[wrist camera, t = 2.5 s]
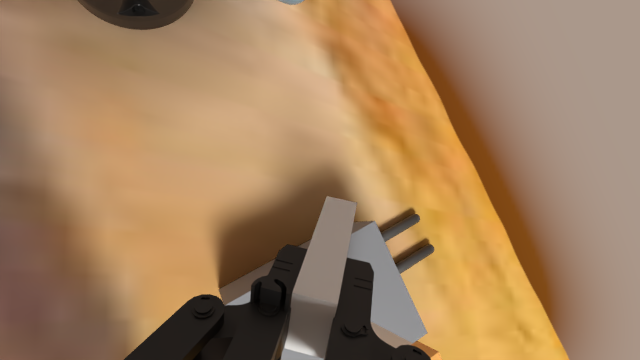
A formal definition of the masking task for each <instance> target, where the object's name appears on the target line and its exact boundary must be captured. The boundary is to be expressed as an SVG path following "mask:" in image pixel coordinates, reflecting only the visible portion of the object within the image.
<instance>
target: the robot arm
mask: <svg viewBox="0 0 640 360" xmlns="http://www.w3.org/2000/svg"><path fill="white" fill-rule="evenodd" d="M78 1H79V2H80V3H81V4H82V5H83V6H84V7H85V8H86V9H87V10H89V11H90V12H91V13H93V14H94V15H95V16H97V17H99V18H100V19H102V20H104V21H106V22H109V23H111V24H114V25H117V26H120V27H124V28H129V29H140V30H141V29H154V28H159V27H163V26H166V25H168V24H170V23H172V22H174V21H176V20H177V19H179V18H180V17H181V16H183V15H184V14H185V13H186V11H187V10H188V9H189V8H190V6H191V4H192V3H193V0H78ZM278 1H280V2H283V3H285V4H289V5H296V4H299V3H301V2H303V1H304V0H278ZM356 206H357V203H356V202H352V201H347V200H343V199H338V198H333V197H329V196H327V197H326V200H325V202H324V205H323V208H322V211H321V214H320V216H319V219H318V222H317V225H316V228H315V231H314V233H313V236H312V239H311V242H310V245H309V247H308V249H305V248H301V247H297V246H293V245H288V244H287V245H286V246H285V247H283V248H282V249H281V250H279V252H278V254H277V257H276V259H275V261H274V263H273V265H272V268H271V269H270V271H269V274H268V275H267V276H262V277H260V278H258V279H256V280H255V281H254V282H253V283H252V284H251V295H250V302H248V303H245V304H241V305H224V304H223V302H222V300H221V299H219V298H218V297H217V296H213V295H210V294H209V295H199V296H196V297H193V298H192V299H190V300H189V301H187V302H186V303H185V304H184V305H183V306H182V307H181V308H180V309H179V310H178V311H176V312H175V313H174V314H173V315H172V316H171V317H170V318H169V319H168V320H167V321H166V322H164V323H163V324H162V325H161V326H160V327H159V328H158V329H157V330H156V331H155V332H153V333H152V334H151V335H150V336H149V337H148V338H147V339H146V340H145V341H144V342H143V343H141V344H140V345H139V346H138V347H137V348H136V349H135V350H134V351H133V352H132V353H131V354H129V355H128V356H127V357H126V358H125V359H124V360H281V356H282V352H283V349H284V345H285V349H289V350H293V351H296V352H300V353H304V354H308V355H311V356H315V357H319V358H323V359H324V360H431V358H430V357H429V356H428V355H427V354H426V353H425V352H424V351H423V350H421V349H420V348H418V347H416V346H412V345H408V344H407V345H400V346H399V347H397V348H394V347H393V346H391V345H389V344H387V343H386V342H384V341H383V340H381V339H380V338H379V337H378V336H377V335H376V334H375V332H374V330H373V329H372V326H371V308H372V295H373V282H374V271H373V269H372V266H371V264H370V263H368V262H364V261H360V260H356V259H351V258H347V253H348V248H349V243H350V237H351V232H352V227H353V222H354V217H355V211H356Z"/></svg>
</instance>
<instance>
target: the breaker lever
mask: <svg viewBox="0 0 640 360" xmlns="http://www.w3.org/2000/svg"><path fill="white" fill-rule="evenodd" d="M371 326H372V329H373V330H374V332H375V334H376V335H377V336H378V337H379V338H380V339H381V340H383V341H384V342H386V343H387V344H389V345H391V346H393V347H394V348H397V347H399V346H400V345H407V344H408V345H412V346H416V347H418V348H420V349H421V350H423V351H424V352H425V353H426V354H427V355H428V356H429V357H430V358H431V360H442V358H441V356H440V354H439V352H438V351H436V350H434V349H432V348H430V347H428V346H426V345H424V344H422V343H420V342H418V341H416V342H414V343H411V342H409V341H407V340H405V339H403V338H402V337H400V336H398V335H396V334H394V333H392V332H390V331H388V330H386V329H384V328H382V327H381V326H379V325H377V324H375V323H373V322H371Z"/></svg>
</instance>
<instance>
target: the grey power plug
mask: <svg viewBox="0 0 640 360" xmlns="http://www.w3.org/2000/svg"><path fill="white" fill-rule="evenodd" d="M419 220H420V217H419V215H418V214H412V215H410V216H409V217H407V218H405V219H403V220H402V221H400V222H398V223H397V224H395V225H393V226H391V227H390V228H388V229H386V230H385V231H383V232H381V233H380V231H379V229H378V226H377V224H376V222H375V221H365V222H353V227H352V232H351V237H350V243H349V248H348V253H347V258H351V259H356V260H360V261H364V262H368V263H370V264H371V266H372V269H373V271H374V282H373V295H372V308H371V322H373V323H375V324H377V325H379V326H381V327H382V328H384V329H386V330H388V331H390V332H392V333H394V334H396V335H398V336H400V337H402V338H403V339H405V340H407V341H409V342H411V343H414V342H416V341H417V340H419V339H420V338H421V337H423V336H424V335H425V334H427V331H426V329H425V327H424V324H423V322H422V320H421V318H420V316H419V314H418V312H417V309H416V307H415V305H414V303H413V301H412V299H411V297H410V295H409V292H408V290H407V288H406V286H405V284H404V282H403V280H402V278H401V275H400V274H401V273H402V272H404V271H405V270H407V269H408V268H410V267H412V266H413V265H415V264H416V263H418V262H419V261H421V260H422V259H424V258H425V257H427V256H429V255H430V254H432V253H433V252H434V247H433V246H432V245H431V244H427V245H426V246H424V247H422V248H421V249H419V250H418V251H416V252H414V253H413V254H411V255H410V256H408V257H407V258H405V259H403V260H402V261H400V262H399V263H397V264H395V263H394V261H393V258H392V256H391V254H390V252H389V250H388V248H387V246H386V243H385V242H386V241H387V240H389V239H391V238H393V237H394V236H396V235H398V234H399V233H401V232H403V231H404V230H406V229H408V228H409V227H411V226H413V225H414V224H416V223H418V222H419ZM310 242H311V240H309V241H307V242H305V243H303V244H301V245H300V246H298V247H301V248H305V249H308V247H309V245H310ZM274 261H275V259H274V260H272V261H270V262H268V263H266V264H264V265H263V266H261V267H259V268H257V269H255V270H253V271H252V272H250V273H248V274H246V275H244V276H242V277H240V278H239V279H237V280H235V281H233V282H231V283H229V284H228V285H226V286H224V287H222V288H220V289H219V292H220V294H221V297H222V300H223V303H224V305H241V304H245V303H248V302H250V295H251V284H252V283H253V282H254V281H255V280H256V279H258V278H260V277H262V276H267V275H268V274H269V271H270V269H271V268H272V265H273V263H274ZM281 360H324V359H323V358H319V357H315V356H311V355H308V354H304V353H300V352H296V351H293V350H289V349H285V345H284V349H283V352H282V356H281Z"/></svg>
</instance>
